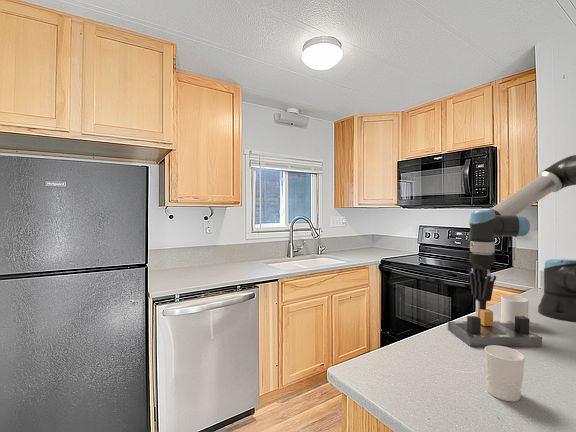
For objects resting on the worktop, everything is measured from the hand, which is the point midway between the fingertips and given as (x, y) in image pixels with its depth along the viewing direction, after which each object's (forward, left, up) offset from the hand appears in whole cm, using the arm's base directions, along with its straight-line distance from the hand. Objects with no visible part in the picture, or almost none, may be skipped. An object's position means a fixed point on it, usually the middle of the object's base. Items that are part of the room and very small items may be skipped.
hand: (480, 318), depth 114 cm
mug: (-17, -6, -5) cm, 19 cm away
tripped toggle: (0, +3, -1) cm, 3 cm away
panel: (0, +6, -5) cm, 8 cm away
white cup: (+18, +38, -5) cm, 42 cm away
